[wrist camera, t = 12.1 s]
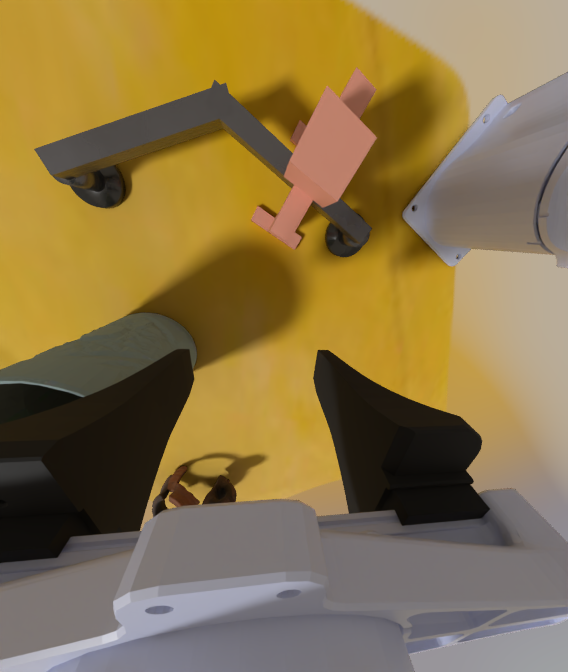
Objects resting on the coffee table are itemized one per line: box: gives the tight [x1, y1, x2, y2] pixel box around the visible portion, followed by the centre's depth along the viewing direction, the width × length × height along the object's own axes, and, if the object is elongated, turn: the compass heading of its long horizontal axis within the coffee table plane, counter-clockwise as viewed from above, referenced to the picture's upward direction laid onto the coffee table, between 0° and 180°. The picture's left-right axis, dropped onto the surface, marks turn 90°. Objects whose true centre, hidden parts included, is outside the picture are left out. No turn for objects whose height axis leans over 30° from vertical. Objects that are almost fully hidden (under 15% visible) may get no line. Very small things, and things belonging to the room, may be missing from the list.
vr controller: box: [152, 466, 236, 517], centre depth 31 cm, size 12×10×8 cm
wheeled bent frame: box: [34, 80, 372, 257], centre depth 15 cm, size 12×22×4 cm, turn 55°
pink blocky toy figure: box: [251, 68, 377, 250], centre depth 12 cm, size 4×7×10 cm, turn 148°
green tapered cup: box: [0, 313, 197, 424], centre depth 17 cm, size 10×10×12 cm
